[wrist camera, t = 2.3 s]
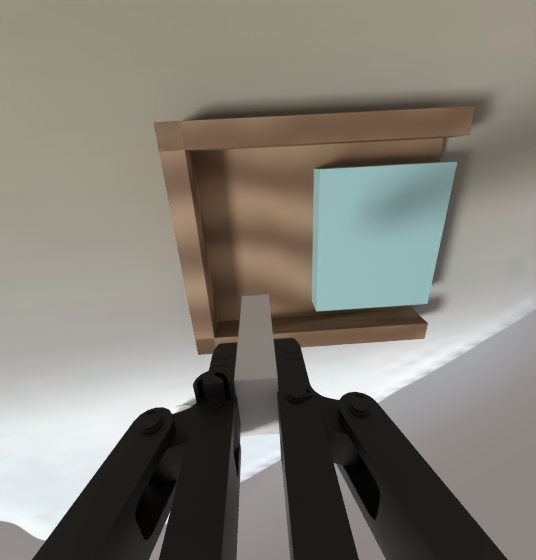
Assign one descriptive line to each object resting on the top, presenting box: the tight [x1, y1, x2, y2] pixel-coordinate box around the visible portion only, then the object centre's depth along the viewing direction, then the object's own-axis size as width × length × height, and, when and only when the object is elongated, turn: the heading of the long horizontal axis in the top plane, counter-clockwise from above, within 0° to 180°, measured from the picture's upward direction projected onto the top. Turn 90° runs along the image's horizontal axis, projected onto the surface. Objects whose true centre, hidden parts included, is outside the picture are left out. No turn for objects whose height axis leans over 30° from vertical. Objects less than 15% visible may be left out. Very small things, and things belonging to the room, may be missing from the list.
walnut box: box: [154, 106, 475, 355], centre depth 27 cm, size 22×25×4 cm
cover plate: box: [312, 162, 457, 311], centre depth 27 cm, size 14×12×2 cm
